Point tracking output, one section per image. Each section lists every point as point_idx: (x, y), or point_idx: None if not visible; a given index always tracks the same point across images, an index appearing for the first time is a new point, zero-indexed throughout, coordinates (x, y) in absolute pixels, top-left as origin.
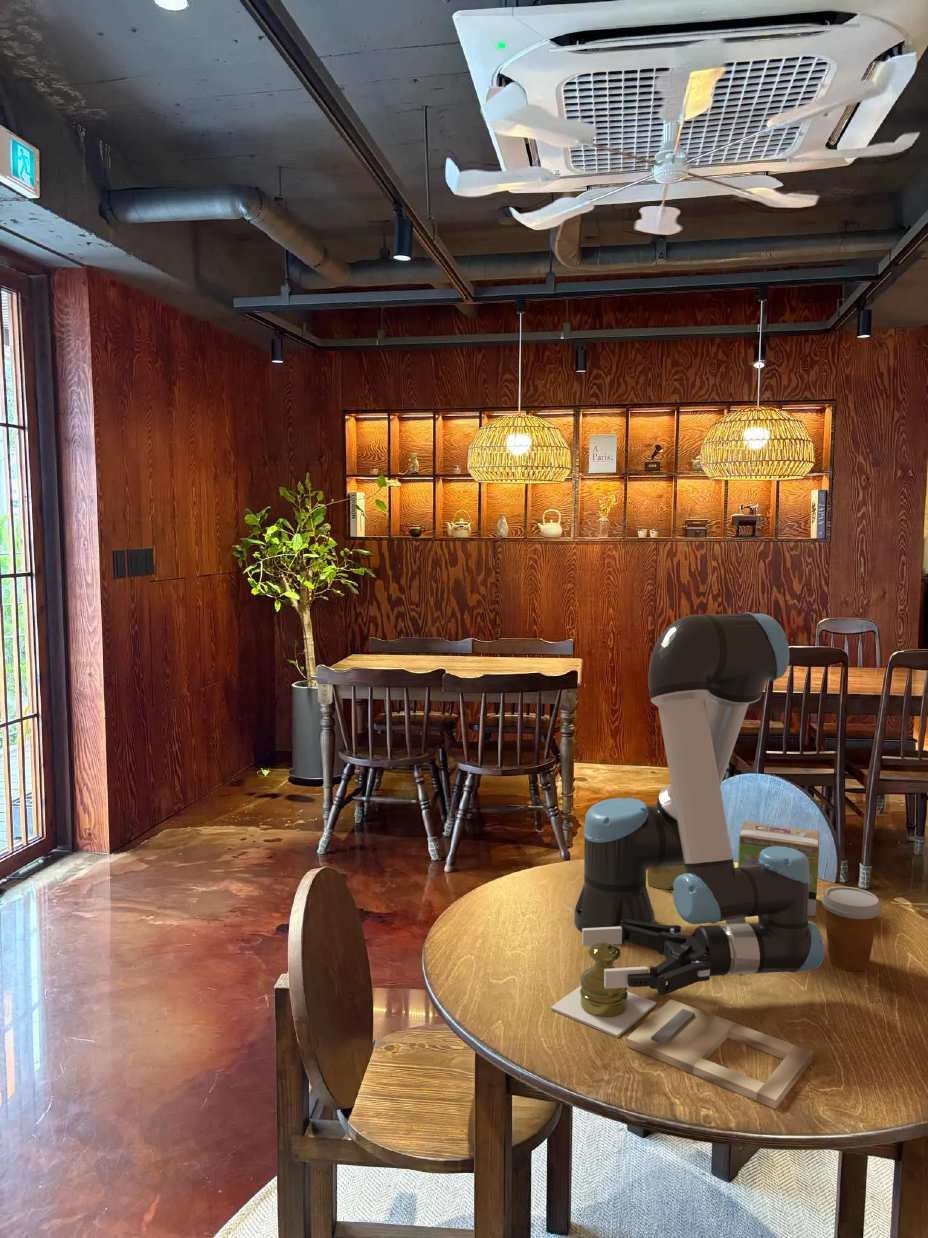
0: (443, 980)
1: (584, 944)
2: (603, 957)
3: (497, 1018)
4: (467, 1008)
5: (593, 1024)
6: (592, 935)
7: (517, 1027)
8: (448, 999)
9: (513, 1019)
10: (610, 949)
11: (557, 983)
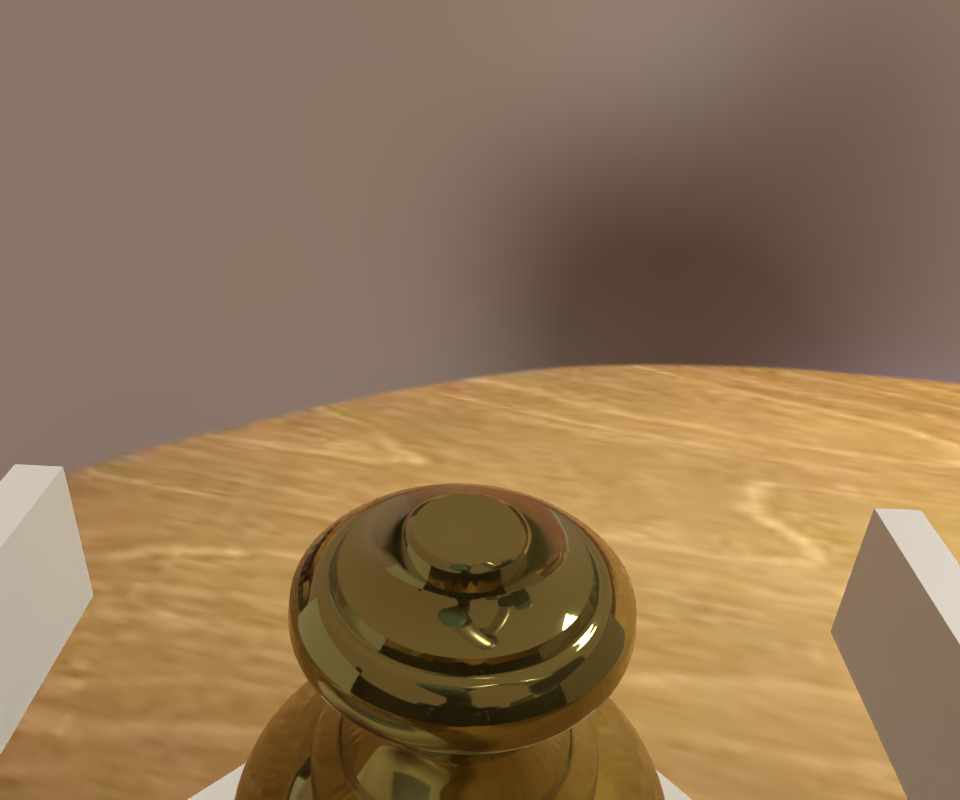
0: (729, 380)
1: (841, 628)
2: (319, 538)
3: (440, 457)
4: (527, 403)
5: (222, 780)
6: (898, 621)
7: (355, 496)
8: (593, 376)
9: None
10: (396, 581)
11: (782, 728)
